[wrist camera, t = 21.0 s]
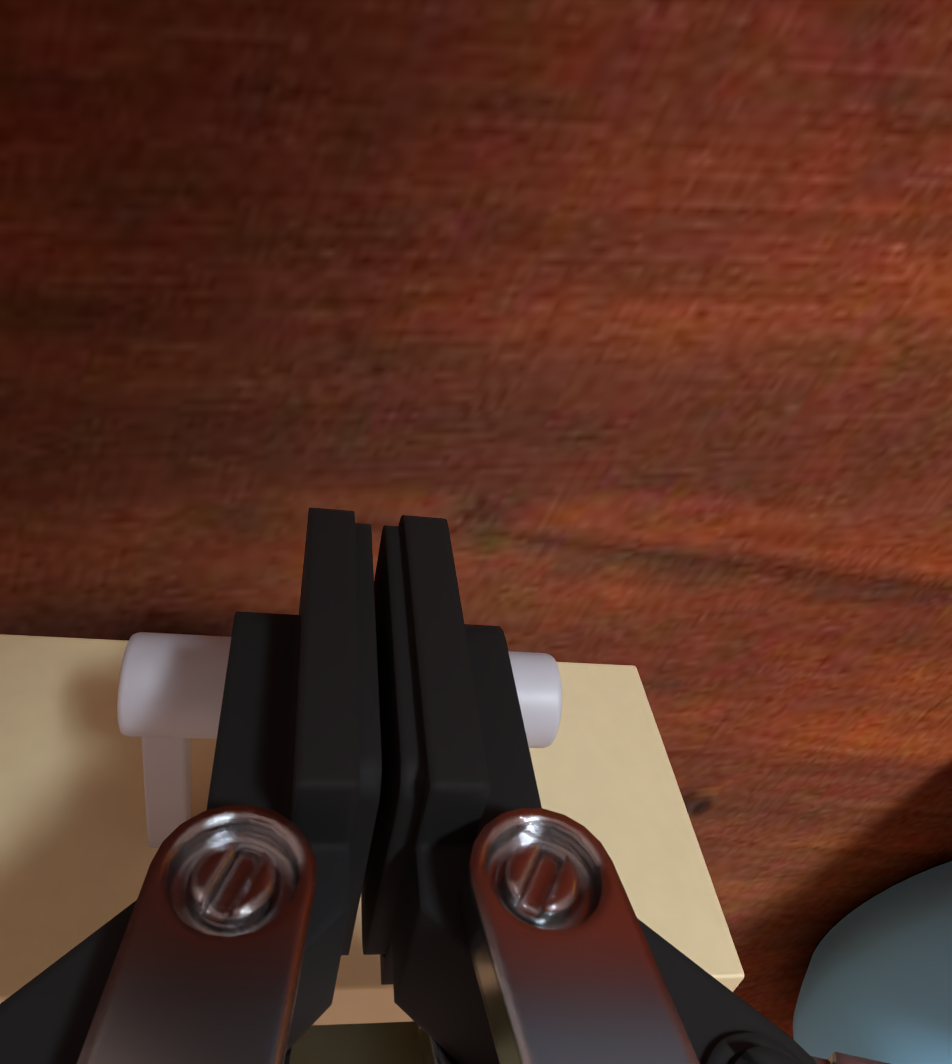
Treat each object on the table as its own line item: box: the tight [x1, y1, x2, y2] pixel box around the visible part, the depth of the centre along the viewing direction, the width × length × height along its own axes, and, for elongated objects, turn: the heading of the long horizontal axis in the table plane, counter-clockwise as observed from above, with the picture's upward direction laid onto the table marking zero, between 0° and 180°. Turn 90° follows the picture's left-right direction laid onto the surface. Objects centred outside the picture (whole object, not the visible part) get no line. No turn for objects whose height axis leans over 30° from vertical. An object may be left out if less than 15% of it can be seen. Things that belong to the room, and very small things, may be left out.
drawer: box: [0, 632, 744, 1064], centre depth 18 cm, size 19×13×7 cm
